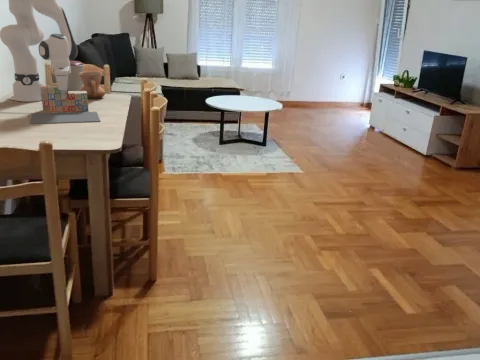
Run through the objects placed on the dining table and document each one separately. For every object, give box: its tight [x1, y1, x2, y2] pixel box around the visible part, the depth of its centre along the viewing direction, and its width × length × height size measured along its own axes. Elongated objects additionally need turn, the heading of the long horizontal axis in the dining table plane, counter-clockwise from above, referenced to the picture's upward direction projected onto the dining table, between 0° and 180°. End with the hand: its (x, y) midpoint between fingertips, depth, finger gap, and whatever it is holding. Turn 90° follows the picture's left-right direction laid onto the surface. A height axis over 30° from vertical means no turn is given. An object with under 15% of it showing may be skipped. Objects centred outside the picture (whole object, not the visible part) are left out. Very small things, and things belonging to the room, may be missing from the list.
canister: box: [54, 60, 85, 91], centre depth 273 cm, size 18×18×21 cm
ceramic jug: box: [79, 70, 106, 100], centre depth 261 cm, size 18×14×14 cm
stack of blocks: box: [41, 84, 89, 113], centre depth 228 cm, size 21×6×12 cm, turn 112°
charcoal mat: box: [29, 111, 101, 125], centre depth 216 cm, size 20×30×1 cm, turn 111°
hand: (63, 97), depth 228 cm, fingers closed on stack of blocks, 6 cm apart
